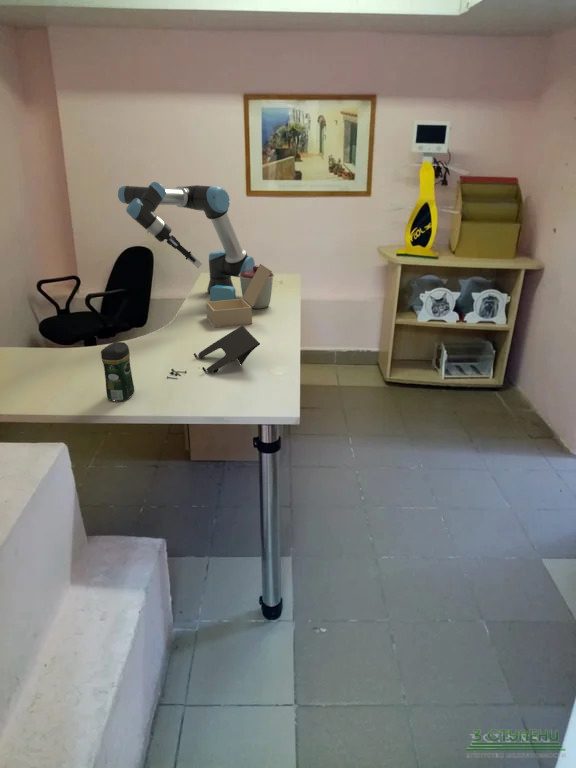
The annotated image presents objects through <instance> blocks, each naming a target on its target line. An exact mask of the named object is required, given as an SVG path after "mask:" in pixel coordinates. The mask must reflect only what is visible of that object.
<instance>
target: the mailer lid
mask: <svg viewBox="0 0 576 768" xmlns="http://www.w3.org/2000/svg"><path fill="white" fill-rule="evenodd" d="M258 266H259V267H258V269H257V271H256V273H255V275H254V277H253V278H252V280H251V282H250V284H249V286H248V288H247V290H246V292H245V294H244V296H242V299H243V298H244V299H245V300H246V301H247V302H248V303H249V304H250V305H251V306H254V304H255V303H256V301H257V299H258V297H259V295H260V293H261V291H262V289H263V287H264V285H265V284H266V282H267V280H268V278H269V276H270V274H271V273H273V272H272V270H271V269H269V268H268V267H266V266H264V265H263V264H262V263H259V265H258Z"/></svg>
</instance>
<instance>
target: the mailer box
mask: <svg viewBox="0 0 576 768" xmlns="http://www.w3.org/2000/svg"><path fill="white" fill-rule="evenodd" d="M205 305H206V307H205V308H206V319H207V320H208V321H209V323H210V324H211V325H212V326H213V328H214V329H215V328H223V327H232V326H235V327H236V326H244V325H252V324H253V308H252V307H251V306H250V305H249V304H248V303H246V302H245V301H244V300H243V298H236V299H234V300H223V301H211V300H210V301H206V302H205Z"/></svg>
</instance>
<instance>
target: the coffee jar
mask: <svg viewBox="0 0 576 768" xmlns="http://www.w3.org/2000/svg"><path fill="white" fill-rule="evenodd" d="M100 357H101V362H102V364H103V370H104V379H105V389H106V391H105V393H106V398H107V400H109V399H110V401H111V400H115V401H114V402H116V401H119V402H123V400H125V401H127V400H128V398H129V397H130V396H131V395H132V394H133V395H134V394H135V385H134V380H133V375H132V367H131V360H130V348H129V345H128V344H127V343H125V342H123V341H113V342H112V343H110V344H108V345H107V346H105V347H104V348H103V349H102V350H101V351H100ZM133 395H132V396H133ZM132 396H131V397H132ZM131 397H130V398H131ZM130 398H129V399H130ZM126 399H127V400H126Z"/></svg>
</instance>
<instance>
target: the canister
mask: <svg viewBox="0 0 576 768" xmlns="http://www.w3.org/2000/svg"><path fill="white" fill-rule="evenodd" d="M258 267H259V265H255V266H254V267H253V270H246V271H243V272H242V273H240V274H239V277H238V278H239V281H240V287H241V288H240V289H241V295H242V299H243V300H244V301H245V302H246V303H248V302H247V301H246V300H245V299H244V298H243V296H244V294H245V292H246V290H247V288H248V286H249V284H250V282H251V280H252V278H253V277H254V275H255V273H256V271H257V269H258ZM274 277H275V273H273V272H271V274H270V276H269V278H268V280H267V282H266V284H265V285H264V287H263V289H262V291H261V293H260V295H259V297H258V299H257V301H256V303H255V304H254V306H251V305H250V304H249V303H248V304H249V305H250V306H251V307H252V310H253V309H256V310H257V309H258V310H259V309H260V310H261V309H265V308H267V307H268V306H269V305H270V303H271V301H272V300H271V298H272V291H273V280H274Z"/></svg>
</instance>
